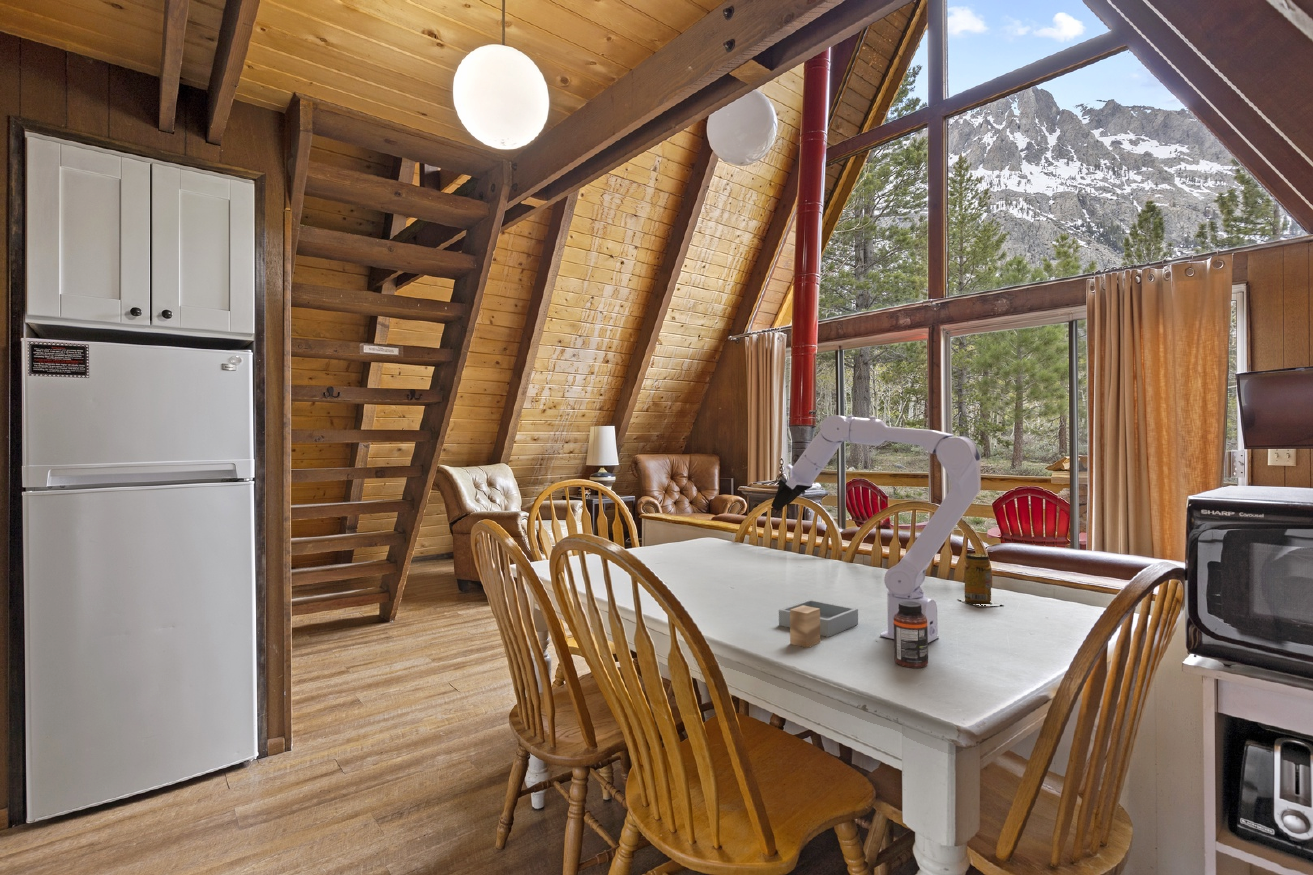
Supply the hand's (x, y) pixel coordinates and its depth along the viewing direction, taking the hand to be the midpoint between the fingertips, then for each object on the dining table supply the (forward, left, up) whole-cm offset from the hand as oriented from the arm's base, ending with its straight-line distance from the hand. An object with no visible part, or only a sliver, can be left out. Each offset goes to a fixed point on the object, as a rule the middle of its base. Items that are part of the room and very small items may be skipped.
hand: (779, 505), depth 155 cm
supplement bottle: (-36, +9, -27) cm, 45 cm away
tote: (-10, -1, -26) cm, 28 cm away
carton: (-15, +12, -26) cm, 33 cm away
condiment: (-29, -45, -27) cm, 59 cm away
